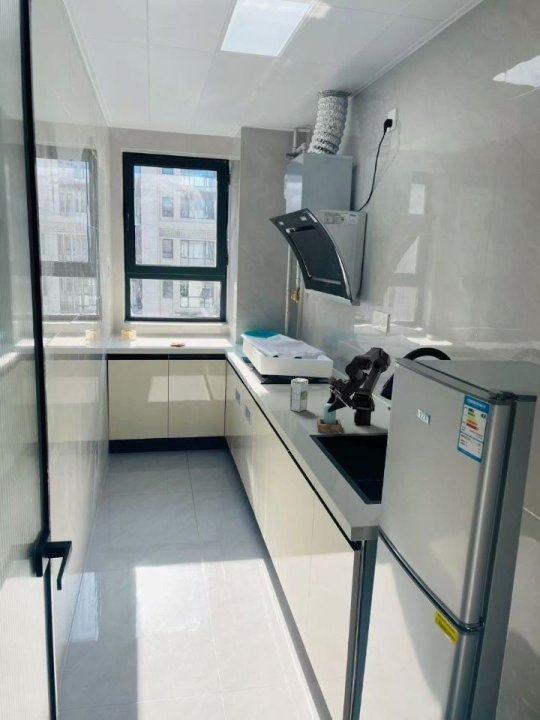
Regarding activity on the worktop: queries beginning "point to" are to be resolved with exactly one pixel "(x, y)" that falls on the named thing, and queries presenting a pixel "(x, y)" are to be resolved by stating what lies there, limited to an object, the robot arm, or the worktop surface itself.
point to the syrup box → (299, 394)
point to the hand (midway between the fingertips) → (326, 409)
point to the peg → (329, 415)
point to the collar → (329, 426)
